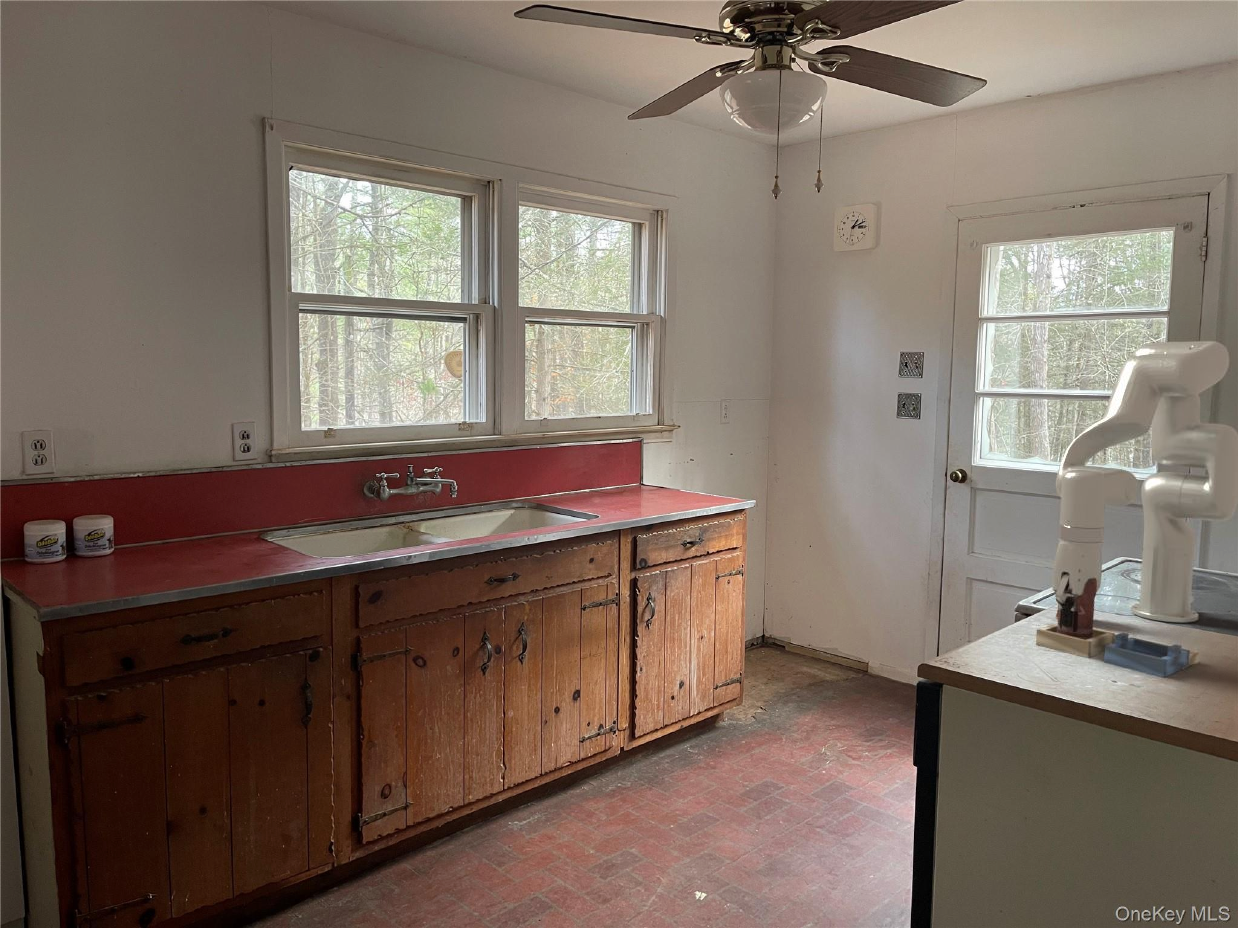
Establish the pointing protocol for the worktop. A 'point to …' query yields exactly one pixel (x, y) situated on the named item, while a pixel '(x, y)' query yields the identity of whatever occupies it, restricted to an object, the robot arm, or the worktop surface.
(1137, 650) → the open rectangular box frame
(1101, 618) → the worktop surface
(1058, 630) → the can
